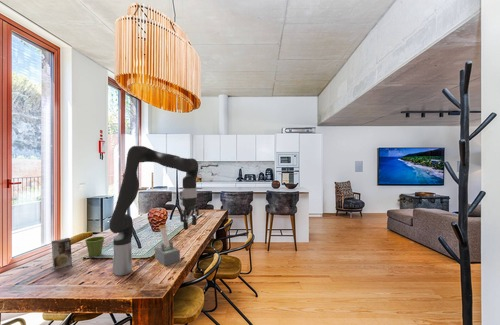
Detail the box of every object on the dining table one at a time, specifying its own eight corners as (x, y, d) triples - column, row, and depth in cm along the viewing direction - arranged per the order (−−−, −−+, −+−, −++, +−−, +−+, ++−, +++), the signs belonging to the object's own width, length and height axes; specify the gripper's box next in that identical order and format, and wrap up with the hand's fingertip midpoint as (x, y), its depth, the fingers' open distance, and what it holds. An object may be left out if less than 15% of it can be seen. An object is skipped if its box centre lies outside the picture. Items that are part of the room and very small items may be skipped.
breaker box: (155, 258, 166) (154, 241, 165) (170, 254, 172) (169, 238, 172) (164, 266, 153) (163, 248, 153) (179, 261, 160) (179, 244, 160)
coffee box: (70, 262, 162) (69, 237, 162) (72, 265, 158) (71, 239, 158) (52, 266, 156) (51, 240, 156) (53, 269, 151) (52, 243, 151)
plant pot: (96, 259, 167) (95, 242, 166) (80, 258, 169) (80, 241, 169) (109, 252, 178) (108, 236, 178) (95, 251, 180) (94, 235, 180)
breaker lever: (164, 249, 162) (158, 226, 168) (169, 247, 164) (164, 225, 170) (165, 247, 160) (159, 225, 166) (170, 246, 162) (165, 224, 168)
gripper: (190, 194, 140) (190, 223, 140) (175, 198, 126) (176, 230, 126) (202, 194, 137) (203, 224, 138) (188, 198, 124) (189, 231, 124)
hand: (190, 227), depth 132 cm, fingers open, 8 cm apart
